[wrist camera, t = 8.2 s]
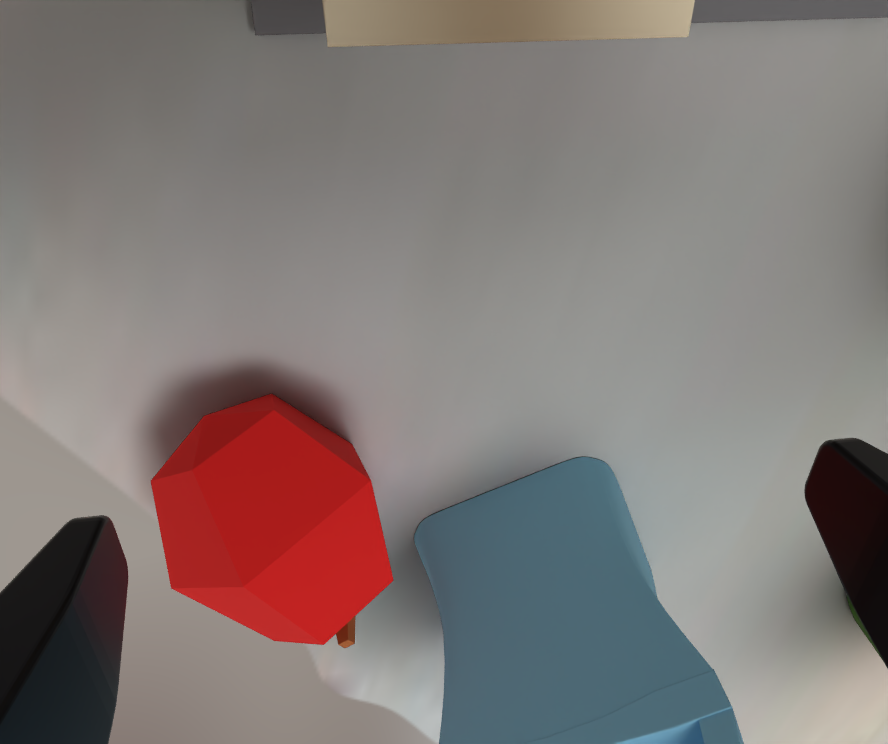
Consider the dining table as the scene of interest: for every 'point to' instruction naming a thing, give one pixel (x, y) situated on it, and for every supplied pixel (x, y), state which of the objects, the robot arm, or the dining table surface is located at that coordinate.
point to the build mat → (301, 12)
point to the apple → (272, 523)
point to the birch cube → (500, 20)
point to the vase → (561, 622)
